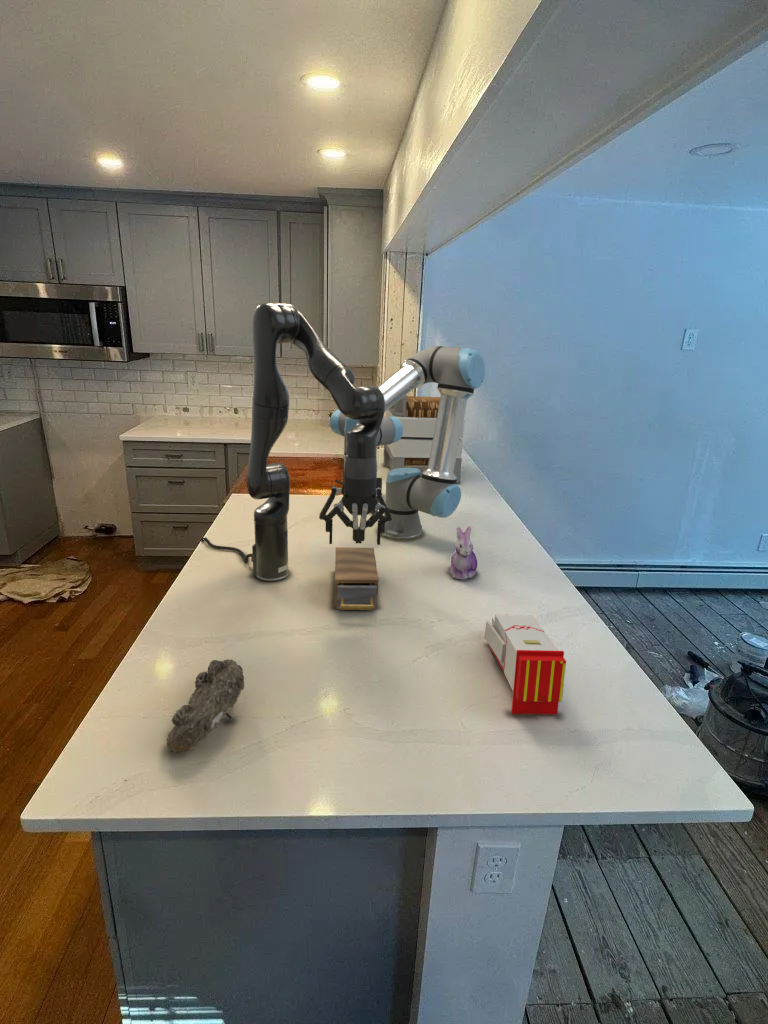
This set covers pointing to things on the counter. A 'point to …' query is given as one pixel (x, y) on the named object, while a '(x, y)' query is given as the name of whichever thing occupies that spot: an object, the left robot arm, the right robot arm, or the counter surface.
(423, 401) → the white crate
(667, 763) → the counter surface
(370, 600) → the drawer
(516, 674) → the toy
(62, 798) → the counter surface
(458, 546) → the figurine
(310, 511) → the counter surface
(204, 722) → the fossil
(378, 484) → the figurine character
